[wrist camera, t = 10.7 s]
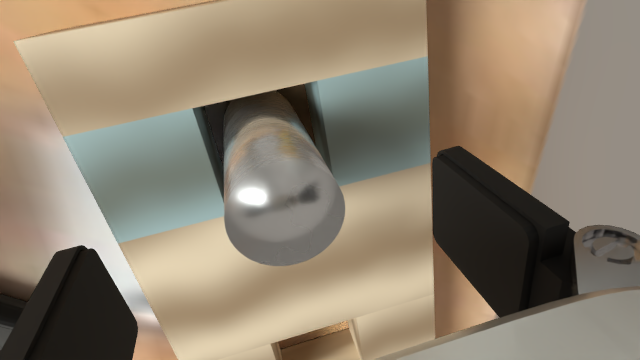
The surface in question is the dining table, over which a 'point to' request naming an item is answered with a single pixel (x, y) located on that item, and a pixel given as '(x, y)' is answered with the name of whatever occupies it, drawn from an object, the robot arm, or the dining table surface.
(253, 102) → the peg
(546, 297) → the robot arm
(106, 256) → the dining table surface
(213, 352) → the dock board
